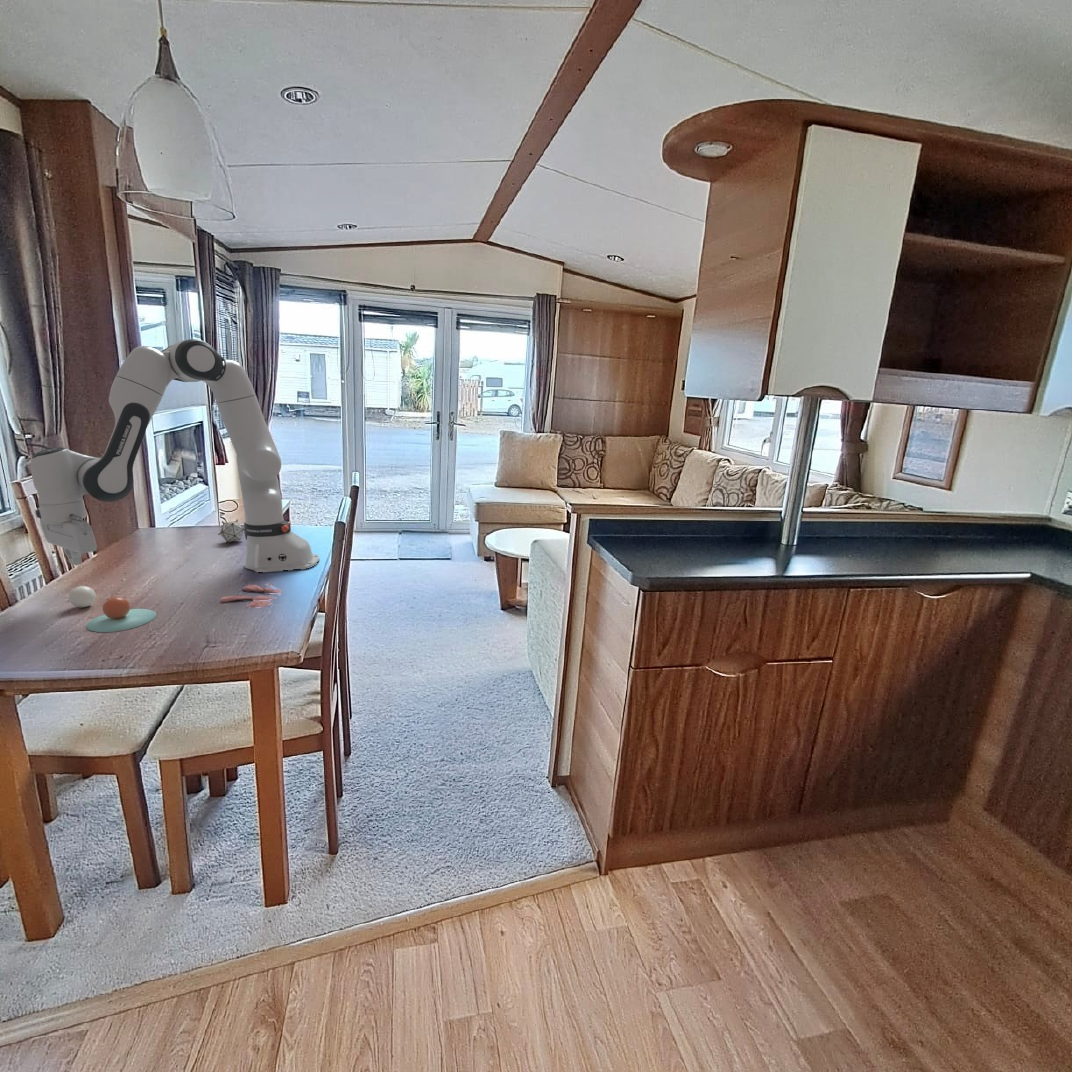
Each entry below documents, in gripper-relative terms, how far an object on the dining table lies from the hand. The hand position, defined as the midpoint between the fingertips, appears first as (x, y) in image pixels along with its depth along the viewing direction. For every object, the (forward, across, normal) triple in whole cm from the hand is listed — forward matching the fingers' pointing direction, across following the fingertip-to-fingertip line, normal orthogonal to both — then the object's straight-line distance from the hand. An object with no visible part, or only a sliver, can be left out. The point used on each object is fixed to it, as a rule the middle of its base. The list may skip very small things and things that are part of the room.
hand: (75, 563), depth 150 cm
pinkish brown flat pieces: (+13, -32, -27) cm, 43 cm away
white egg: (+8, -5, +2) cm, 9 cm away
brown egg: (+8, -20, +1) cm, 22 cm away
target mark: (+10, -22, +1) cm, 25 cm away
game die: (+12, +22, -56) cm, 61 cm away
